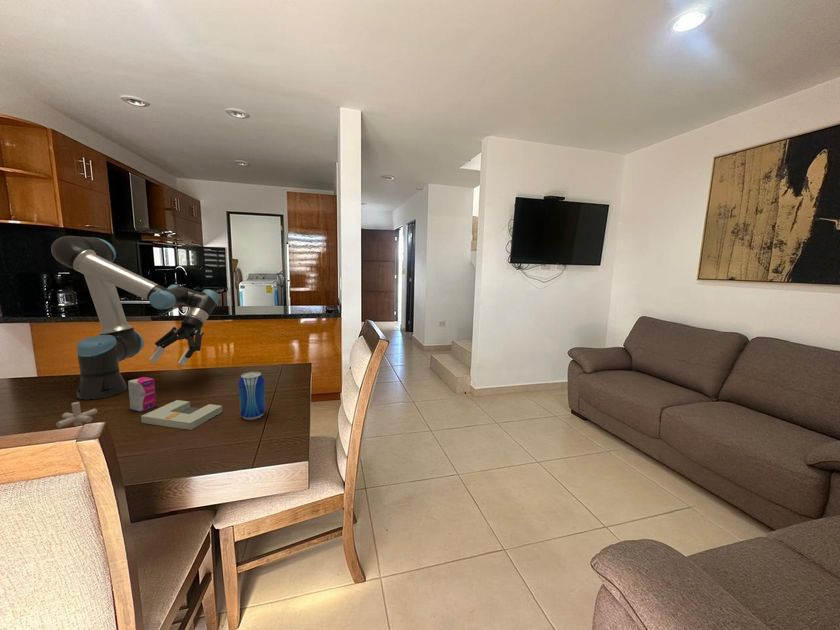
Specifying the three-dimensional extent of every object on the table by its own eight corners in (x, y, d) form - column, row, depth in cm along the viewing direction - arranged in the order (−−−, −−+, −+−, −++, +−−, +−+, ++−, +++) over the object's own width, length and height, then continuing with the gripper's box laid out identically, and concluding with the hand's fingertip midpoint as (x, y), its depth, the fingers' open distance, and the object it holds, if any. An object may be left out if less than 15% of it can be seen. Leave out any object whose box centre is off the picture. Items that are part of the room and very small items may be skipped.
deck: (177, 406, 130) (177, 399, 130) (222, 412, 126) (222, 405, 126) (141, 422, 116) (140, 415, 116) (191, 430, 113) (190, 422, 112)
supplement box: (140, 412, 124) (137, 383, 122) (130, 410, 125) (126, 380, 124) (157, 406, 129) (154, 378, 127) (146, 404, 131) (143, 376, 129)
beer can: (241, 412, 127) (239, 372, 124) (265, 409, 130) (264, 369, 127) (239, 422, 119) (236, 379, 116) (265, 419, 122) (263, 377, 120)
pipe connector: (72, 442, 103) (68, 411, 102) (48, 437, 105) (43, 407, 104) (108, 426, 113) (105, 398, 111) (85, 422, 115) (81, 395, 113)
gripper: (224, 327, 148) (199, 370, 136) (176, 323, 153) (147, 364, 140) (214, 317, 142) (186, 361, 130) (164, 313, 147) (133, 355, 134)
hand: (166, 363), depth 135 cm, fingers open, 13 cm apart
